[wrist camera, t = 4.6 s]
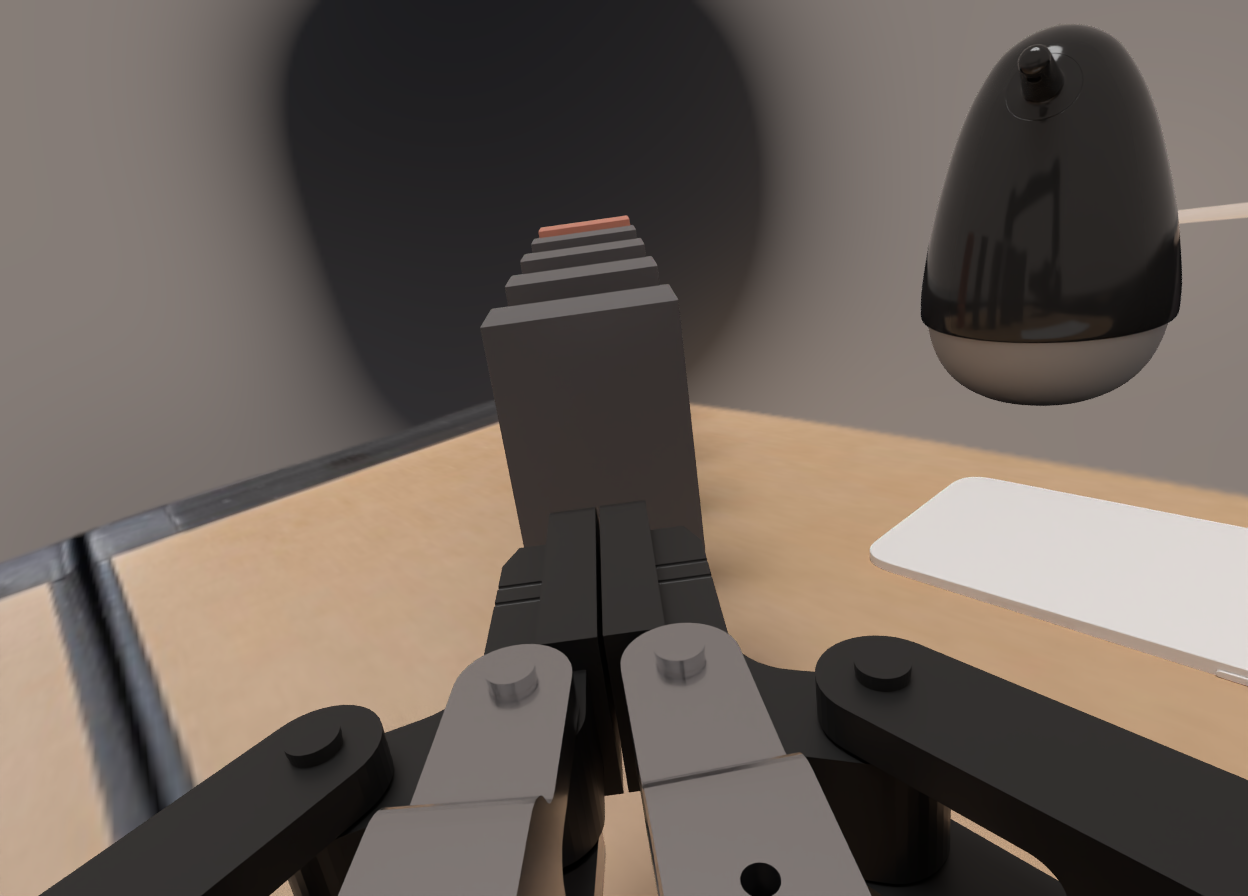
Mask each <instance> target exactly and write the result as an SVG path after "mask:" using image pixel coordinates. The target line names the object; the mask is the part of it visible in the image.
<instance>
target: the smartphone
mask: <svg viewBox="0 0 1248 896" xmlns="http://www.w3.org/2000/svg"><path fill="white" fill-rule="evenodd" d="M870 560H871V562H872V563H873V564H874V565H875V566H877V567H879V568H881V569H883V570H886V571H888V572H891V573H894V574H897V575H901V576H904V577H907V578H910V579H913V580H916V581H920V582H923V583H926V584H929V585H932V586H935V587H939V588H942V589H945V590H948V591H951V592H954V593H957V594H961V595H964V596H967V597H970V598H973V599H976V600H980V601H983V602H986V603H990V604H993V605H996V606H999V607H1002V608H1006V609H1009V610H1012V611H1015V612H1018V613H1021V614H1025V615H1028V616H1031V617H1034V618H1037V619H1040V620H1043V621H1047V622H1050V623H1053V624H1056V625H1059V626H1062V627H1066V628H1069V629H1072V630H1074V631H1078V632H1081V633H1084V634H1087V635H1090V636H1093V637H1097V638H1100V639H1103V640H1106V641H1109V642H1112V643H1116V644H1119V645H1122V646H1125V647H1128V648H1131V649H1134V650H1138V651H1141V652H1144V653H1147V654H1150V655H1153V656H1157V657H1160V658H1163V659H1166V660H1169V661H1172V662H1176V663H1179V664H1182V665H1185V666H1188V667H1191V668H1195V669H1198V670H1201V671H1204V672H1207V673H1210V674H1214V675H1217V676H1218V677H1220V678H1223V679H1226V680H1230V681H1233V682H1236V683H1239V684H1242V685H1245V686H1248V528H1244V527H1239V526H1234V525H1229V524H1224V523H1218V522H1213V521H1208V520H1203V519H1198V518H1193V517H1188V516H1182V515H1177V514H1172V513H1167V512H1162V511H1157V510H1152V509H1146V508H1141V507H1136V506H1131V505H1126V504H1121V503H1116V502H1110V501H1105V500H1100V499H1095V498H1090V497H1085V496H1080V495H1074V494H1069V493H1064V492H1059V491H1054V490H1049V489H1044V488H1038V487H1033V486H1028V485H1023V484H1018V483H1013V482H1008V481H1002V480H997V479H992V478H985V477H967V478H962V479H959V480H957V481H955V482H953V483H952V484H950V485H949V486H948V487H946V488H945V489H944V490H942V491H941V492H940V493H938V494H937V495H936V496H934V497H933V498H932V499H930V500H929V501H928V502H926V503H925V504H924V505H922V506H921V507H920V508H919V509H917V510H916V511H915V512H913V513H912V514H911V515H909V516H908V517H907V518H905V519H904V520H903V521H901V522H900V523H899V524H897V525H896V526H895V527H893V528H892V529H891V530H889V531H888V532H887V533H885V534H884V535H883V536H882V537H880V538H879V539H878V540H876V541H875V542H874V543H873V544H872V546H871V547H870ZM1216 670H1217V671H1216Z"/></svg>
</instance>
